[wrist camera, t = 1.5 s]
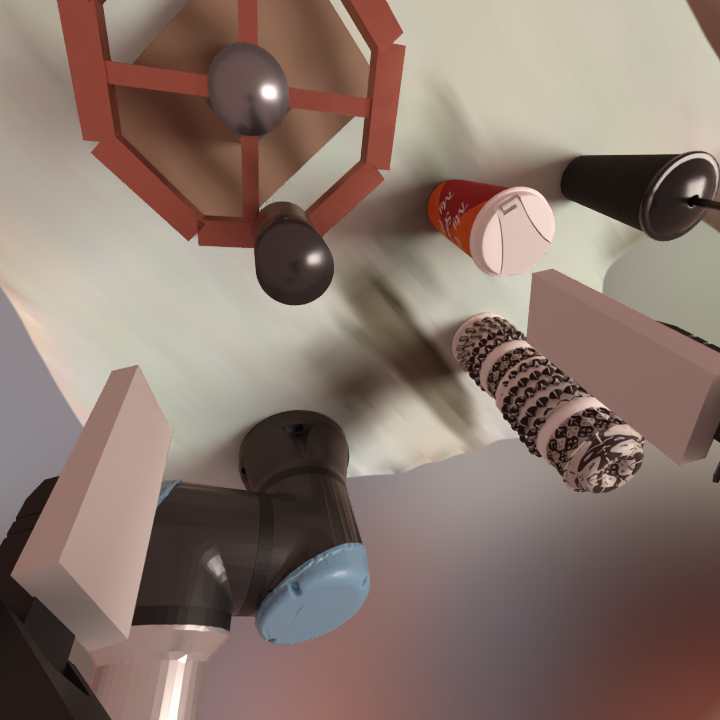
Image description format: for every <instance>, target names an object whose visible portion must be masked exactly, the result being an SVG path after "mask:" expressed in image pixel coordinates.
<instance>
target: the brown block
mask: <svg viewBox="0 0 720 720" xmlns="http://www.w3.org/2000/svg"><path fill="white" fill-rule="evenodd" d="M257 13H258V46H260V47H261V48H263V49H265V50H266V51H268V52H269V53H270V54H271V55H272V56H273V57H274V58H275V59H276V60H277V62H278V63H279V65H280V66H281V68H282V70H283V72H284V74H285V77H286V79H287V83H288V87H292V88H299V89H306V90H313V91H320V92H327V93H333V94H340V95H347V96H354V97H361V98H367V89H368V79H369V69H370V66H369V64H368V62H367V61H366V59H365V58H364V56H363V54H362V53H361V51H360V49H359V48H358V46H357V44H356V43H355V41H354V40H353V38H352V36H351V35H350V33H349V31H348V30H347V28H346V27H345V25H344V23H343V22H342V20H341V18H340V17H339V15H338V14H337V12H336V10H335V9H334V7H333V5H332V4H331V2H330V1H329V0H257ZM234 43H239V37H238V0H190V1H189V2H188V3H187V5H186V6H185V7H184V8H183V9H182V10H181V11H180V12H179V13H178V14H177V16H176V17H175V18H174V19H173V20H172V21H171V22H170V23H169V24H168V26H167V27H166V28H165V29H164V30H163V31H162V32H161V33H160V34H159V35H158V37H157V38H156V39H155V40H154V41H153V42H152V43H151V44H150V45H149V47H148V48H147V49H146V50H145V51H144V52H143V53H142V54H141V55H140V56H139V58H138V59H137V60H136V61H135V62H134V63H133V64H132V65H139V66H146V67H152V68H159V69H166V70H173V71H180V72H187V73H194V74H201V75H208V72H209V68H210V65H211V63H212V61H213V59H214V57H215V56H216V55H217V54H218V52H220V51H221V50H222V49H223V48H225V47H226V46H228V45H231V44H234ZM115 91H116V97H117V104H118V111H119V118H120V124H121V131H122V136H123V137H124V138H125V139H126V140H127V141H128V142H130V143H131V144H132V145H133V146H134V147H135V148H136V149H137V150H138V151H139V152H140V153H141V154H142V155H143V156H144V157H145V158H146V159H147V160H148V161H149V162H150V163H151V164H152V165H153V166H154V167H155V168H156V169H157V170H158V171H159V172H160V173H161V174H162V175H163V176H165V177H166V178H167V179H168V180H169V181H170V182H171V183H172V184H173V185H174V186H175V187H176V188H177V189H178V190H179V191H180V192H181V193H182V194H183V195H184V196H185V197H186V198H187V199H188V200H189V201H190V202H191V203H192V204H193V205H194V206H195V207H196V208H197V209H198V210H200V211H201V212H202V213H203V214H204V215H213V216H229V217H243V193H242V154H241V134H240V133H238V132H236V131H234V130H232V129H231V128H229V127H228V126H227V125H226V124H225V123H224V122H223V121H222V120H221V119H220V118H219V116H218V115H217V114H216V112H215V110H214V108H213V106H212V104H211V101H210V98H209V97H204V96H197V95H189V94H181V93H174V92H166V91H159V90H151V89H143V88H136V87H128V86H120V85H115ZM353 117H355V116H349V115H342V114H334V113H326V112H319V111H311V110H303V109H296V108H287V111H286V114H285V116H284V118H283V120H282V121H281V123H280V124H279V125H278V126H277V127H276V128H275V129H274V130H272V131H271V132H269V133H267V134H264V135H261V136H258V145H259V207H260V206H261V205H262V204H263V203H264V202H265V201H266V200H267V199H269V198H270V197H271V196H272V195H273V194H274V193H275V192H276V191H277V190H278V189H279V188H280V187H281V186H282V185H283V184H284V183H285V182H286V181H287V180H288V179H290V178H291V177H292V176H293V175H294V174H295V173H296V172H297V171H298V170H299V169H300V168H301V167H302V166H303V165H304V164H305V163H306V162H307V161H308V160H309V159H310V158H312V157H313V156H314V155H315V154H316V153H317V152H318V151H319V150H320V149H321V148H322V147H323V146H324V145H325V144H326V143H327V142H328V141H329V140H330V139H331V138H333V137H334V136H335V135H336V134H337V133H338V132H339V131H340V130H341V129H342V128H343V127H344V126H345V125H346V124H347V123H348V122H349V121H350V120H351V119H352V118H353Z"/></svg>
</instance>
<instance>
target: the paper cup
mask: <svg viewBox="0 0 720 720" xmlns="http://www.w3.org/2000/svg"><path fill="white" fill-rule="evenodd" d="M427 213H428V217H429V220H430V222H431V223H432V225H433V226H434V227H435V228H436V229H437V230H438V231H440V232H441V233H442V234H443V235H444V236H445V237H447V238H448V239H449V240H450V241H452V242H453V243H454V244H455V245H456V246H458V247H459V248H460V249H461V250H463V251H464V252H465V253H466V254H468V255H469V256H470V257H471V258H472V259H473V260H474V262H475V264H476V265H477V267H478V268H479V269H480V270H482V271H483V272H485V273H486V274H488V275H491V276H497V277H505V276H512V275H519V274H522V273H524V272H525V271H527V270H529V269H530V268H531V267H532V266H534V265H535V264H536V263H537V262H539V260H540V259H541V258H542V257H543V255H544V254H545V252H546V251H547V249H548V248H549V246H550V244H551V242H552V239H553V236H554V230H555V220H554V215H553V212H552V210H551V208H550V206H549V205H548V203H547V201H546V199H545V198H544V197H543V196H542V195H541V194H540V193H539V192H538V191H536V190H534V189H532V188H528V187H513V188H505V187H500V186H494V185H489V184H483V183H477V182H471V181H465V180H448V181H445V182H443V183H441V184H440V185H439V186H437V187H436V188H435V190H434V191H433V192H432V194H431V196H430V198H429V201H428V206H427Z"/></svg>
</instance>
